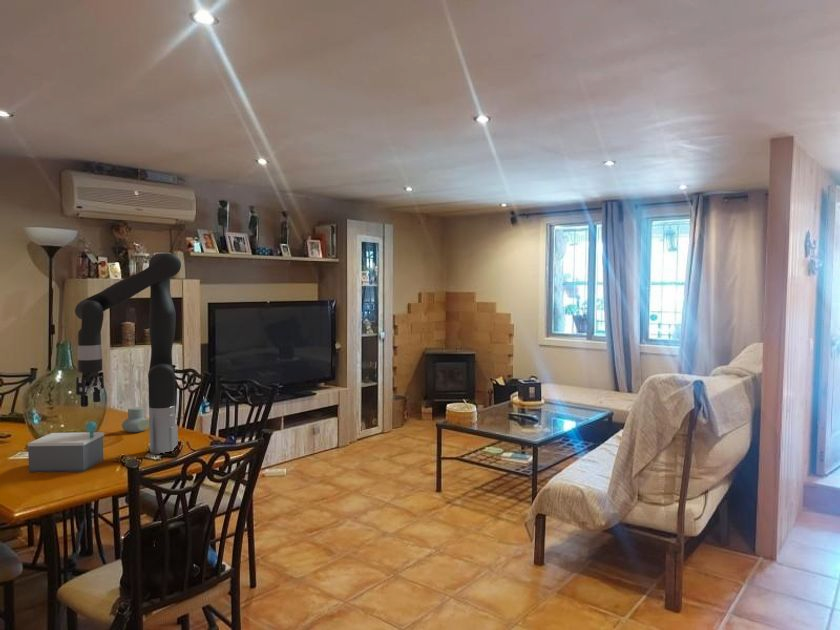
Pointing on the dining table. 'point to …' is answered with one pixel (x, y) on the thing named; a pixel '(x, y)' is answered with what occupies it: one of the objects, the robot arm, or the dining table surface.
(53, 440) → the tub lid
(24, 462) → the dining table surface
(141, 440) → the dining table surface
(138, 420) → the air freshener
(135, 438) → the dining table surface
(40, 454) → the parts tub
